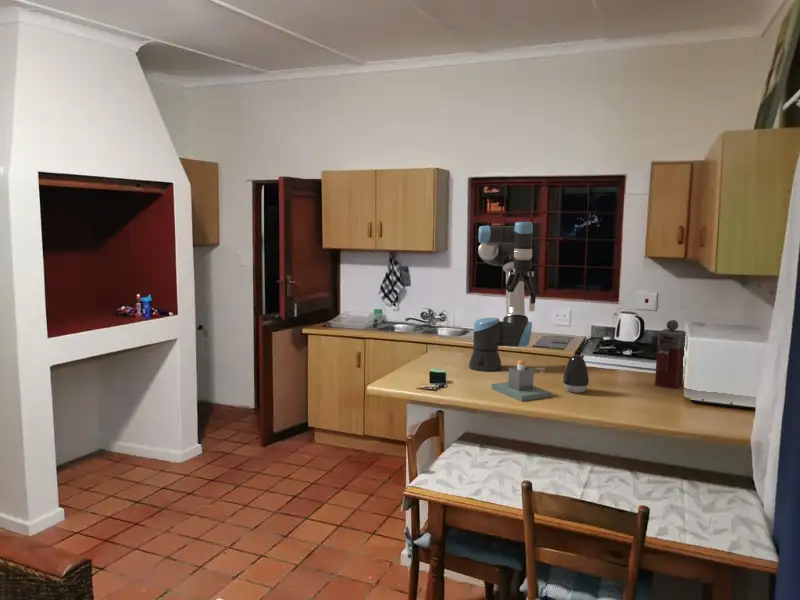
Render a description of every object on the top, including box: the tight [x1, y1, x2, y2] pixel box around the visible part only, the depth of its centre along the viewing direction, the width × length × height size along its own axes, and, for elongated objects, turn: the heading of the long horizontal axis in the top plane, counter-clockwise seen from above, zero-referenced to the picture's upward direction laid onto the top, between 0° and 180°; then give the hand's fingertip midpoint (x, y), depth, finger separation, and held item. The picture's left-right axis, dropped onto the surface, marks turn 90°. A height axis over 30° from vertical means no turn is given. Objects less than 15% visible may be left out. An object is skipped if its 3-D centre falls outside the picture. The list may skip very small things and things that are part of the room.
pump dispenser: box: [562, 354, 590, 394], centre depth 262 cm, size 10×10×15 cm
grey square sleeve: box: [507, 366, 535, 391], centre depth 260 cm, size 7×7×8 cm
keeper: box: [490, 359, 551, 402], centre depth 259 cm, size 20×14×14 cm
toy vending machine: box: [654, 319, 687, 390], centre depth 272 cm, size 9×11×28 cm
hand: (521, 309), depth 273 cm, fingers open, 13 cm apart
